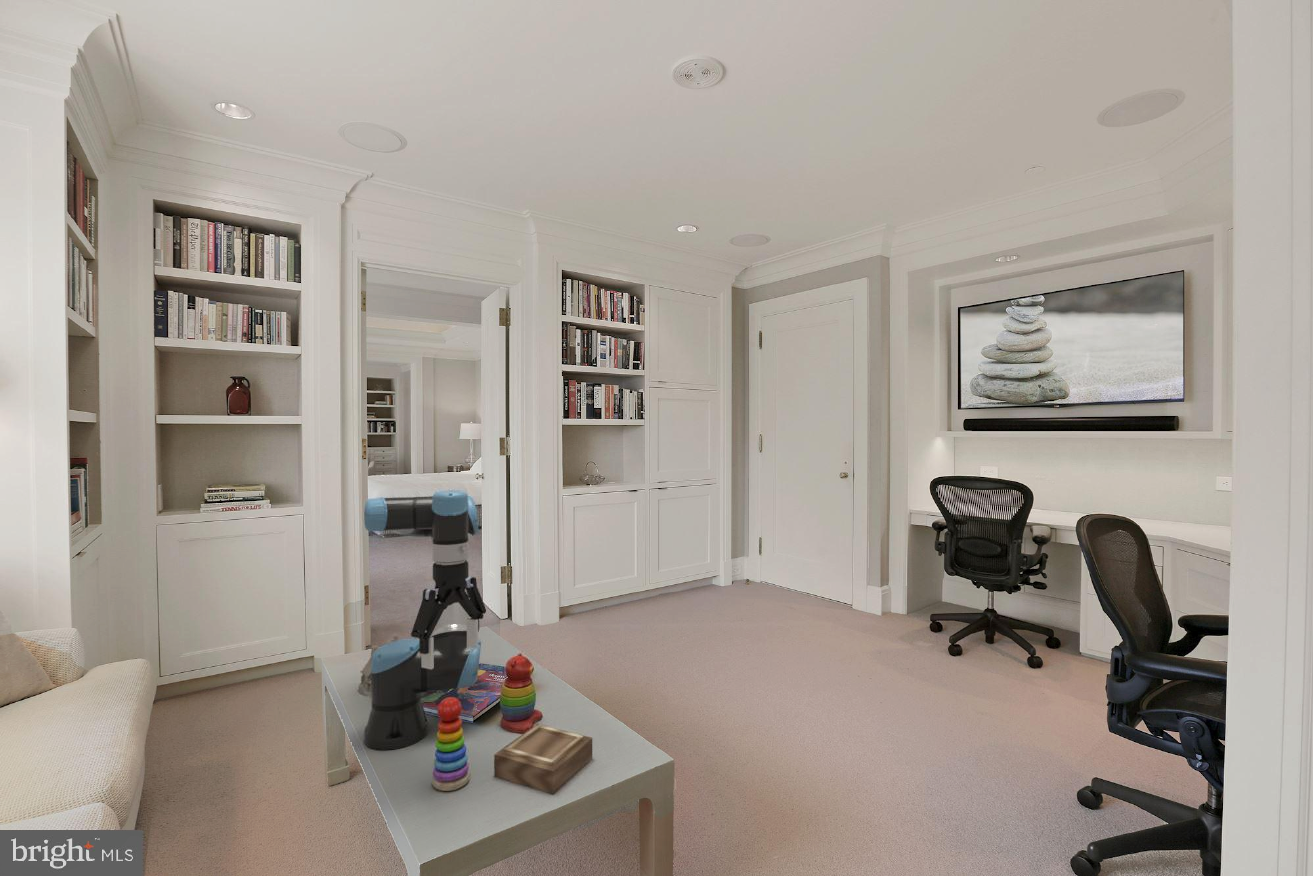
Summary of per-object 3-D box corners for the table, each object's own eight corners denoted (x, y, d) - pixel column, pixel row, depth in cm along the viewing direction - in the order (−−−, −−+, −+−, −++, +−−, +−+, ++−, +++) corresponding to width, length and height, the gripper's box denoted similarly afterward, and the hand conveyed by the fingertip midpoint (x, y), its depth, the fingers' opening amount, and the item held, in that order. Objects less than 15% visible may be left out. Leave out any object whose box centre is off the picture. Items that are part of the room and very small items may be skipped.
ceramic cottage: (355, 685, 189) (357, 637, 188) (411, 675, 198) (414, 629, 198) (363, 708, 176) (366, 656, 175) (423, 696, 185) (426, 647, 185)
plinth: (494, 776, 140) (494, 750, 140) (537, 743, 155) (537, 720, 155) (553, 794, 133) (553, 767, 133) (592, 758, 148) (592, 734, 148)
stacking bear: (528, 734, 159) (528, 665, 159) (492, 730, 161) (492, 662, 161) (544, 715, 170) (544, 650, 170) (510, 712, 172) (510, 648, 172)
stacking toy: (474, 772, 142) (473, 690, 142) (464, 792, 134) (464, 706, 134) (439, 772, 142) (438, 691, 141) (427, 793, 134) (426, 706, 133)
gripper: (419, 574, 124) (419, 680, 124) (501, 552, 147) (501, 642, 147) (392, 571, 127) (392, 674, 128) (476, 549, 150) (476, 637, 150)
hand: (451, 657), depth 137 cm, fingers open, 13 cm apart
